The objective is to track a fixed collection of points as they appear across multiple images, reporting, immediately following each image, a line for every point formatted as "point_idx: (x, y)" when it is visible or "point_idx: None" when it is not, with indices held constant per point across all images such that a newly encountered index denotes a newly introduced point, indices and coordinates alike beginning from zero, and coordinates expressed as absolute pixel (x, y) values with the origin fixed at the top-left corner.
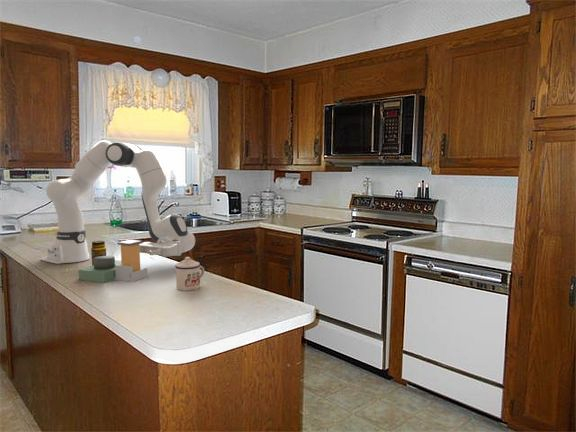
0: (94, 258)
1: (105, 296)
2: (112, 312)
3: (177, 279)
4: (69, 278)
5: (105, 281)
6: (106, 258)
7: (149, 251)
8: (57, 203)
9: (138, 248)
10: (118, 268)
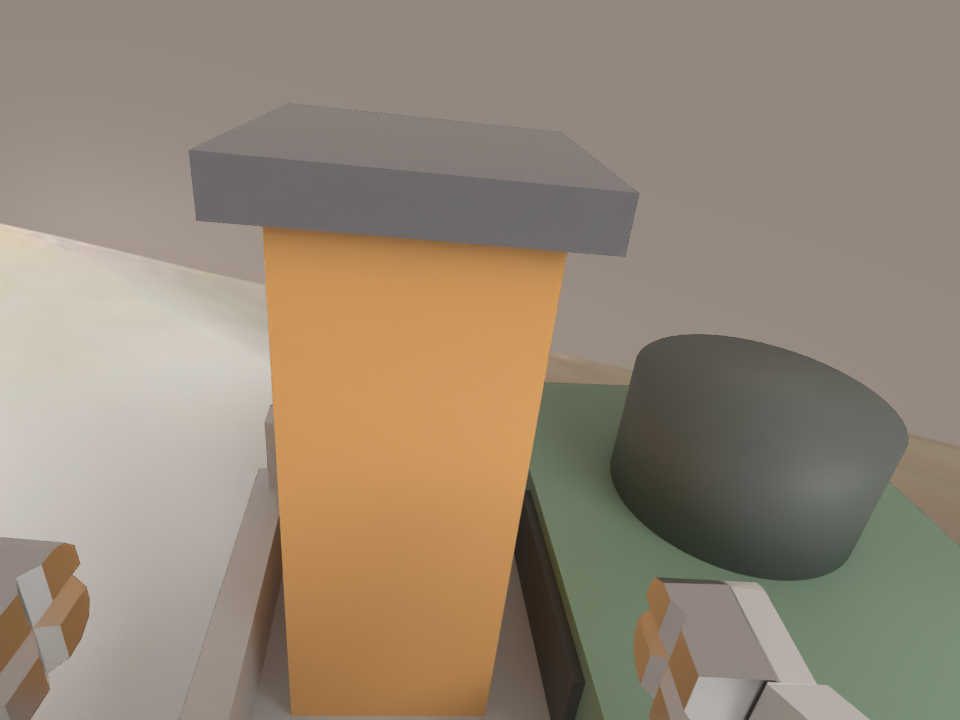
0: (792, 356)
1: (237, 324)
2: (60, 247)
3: None
4: None
5: None
6: (696, 377)
7: (65, 545)
8: None
9: (276, 312)
10: None
